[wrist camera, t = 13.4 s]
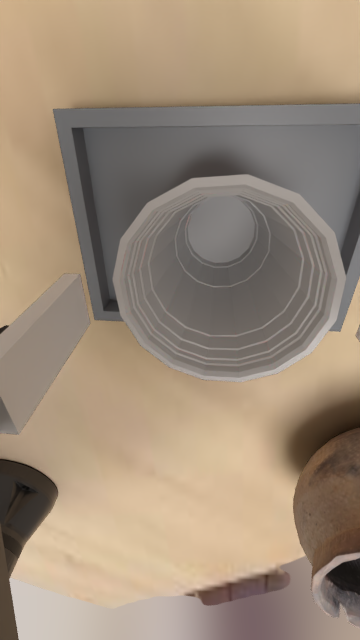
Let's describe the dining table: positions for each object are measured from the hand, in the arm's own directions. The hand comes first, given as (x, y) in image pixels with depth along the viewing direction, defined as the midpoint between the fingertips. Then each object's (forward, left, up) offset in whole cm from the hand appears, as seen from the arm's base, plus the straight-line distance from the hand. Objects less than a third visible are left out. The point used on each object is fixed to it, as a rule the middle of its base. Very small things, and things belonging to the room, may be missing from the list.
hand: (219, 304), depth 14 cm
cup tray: (0, 0, -13) cm, 13 cm away
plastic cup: (0, 0, -12) cm, 12 cm away
